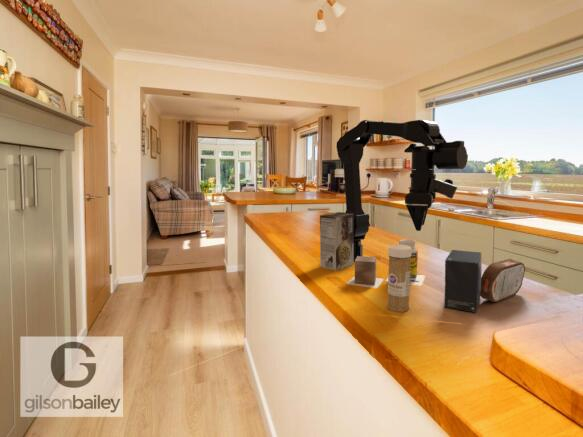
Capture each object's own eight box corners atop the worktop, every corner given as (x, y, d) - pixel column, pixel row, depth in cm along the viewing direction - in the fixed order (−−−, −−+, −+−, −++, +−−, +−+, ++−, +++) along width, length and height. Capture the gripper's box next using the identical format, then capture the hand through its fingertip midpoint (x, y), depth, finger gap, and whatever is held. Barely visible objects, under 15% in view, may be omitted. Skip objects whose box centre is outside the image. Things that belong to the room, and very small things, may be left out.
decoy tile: (345, 284, 88) (345, 283, 88) (355, 275, 95) (355, 275, 95) (376, 288, 84) (376, 288, 84) (384, 279, 91) (384, 278, 91)
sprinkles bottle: (383, 309, 72) (384, 246, 70) (392, 302, 75) (393, 242, 73) (404, 314, 69) (406, 249, 67) (413, 307, 72) (415, 245, 70)
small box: (478, 313, 68) (479, 262, 67) (443, 308, 71) (443, 259, 70) (482, 296, 77) (482, 251, 76) (450, 292, 80) (450, 249, 79)
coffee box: (337, 261, 110) (337, 211, 108) (354, 264, 105) (354, 213, 103) (319, 267, 104) (318, 214, 101) (336, 271, 99) (336, 216, 97)
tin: (510, 289, 82) (514, 255, 80) (524, 293, 79) (529, 258, 78) (475, 302, 74) (479, 264, 72) (490, 307, 71) (495, 268, 70)
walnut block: (354, 283, 88) (354, 260, 87) (357, 277, 92) (357, 256, 92) (374, 285, 86) (374, 262, 85) (376, 279, 91) (376, 257, 90)
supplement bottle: (407, 282, 87) (408, 243, 86) (390, 277, 92) (391, 240, 91) (421, 278, 90) (422, 241, 89) (404, 273, 95) (405, 237, 94)
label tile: (385, 281, 89) (385, 280, 89) (392, 272, 97) (392, 271, 97) (421, 286, 85) (421, 285, 85) (425, 276, 93) (425, 275, 93)
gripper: (456, 169, 78) (452, 236, 80) (456, 169, 95) (453, 224, 97) (405, 170, 83) (403, 233, 85) (414, 169, 99) (412, 222, 102)
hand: (420, 227), depth 92 cm, fingers open, 9 cm apart
